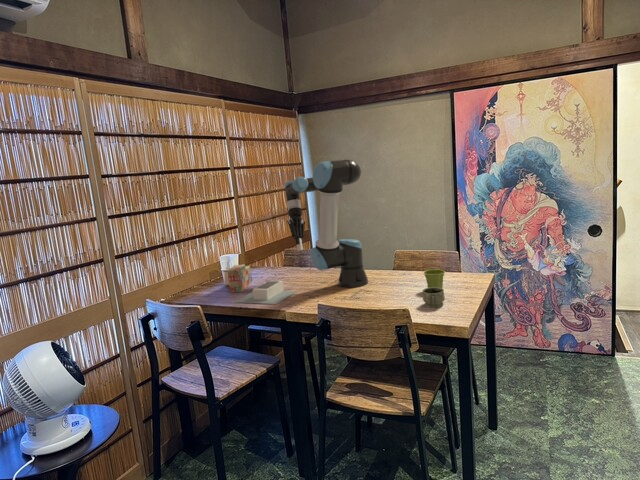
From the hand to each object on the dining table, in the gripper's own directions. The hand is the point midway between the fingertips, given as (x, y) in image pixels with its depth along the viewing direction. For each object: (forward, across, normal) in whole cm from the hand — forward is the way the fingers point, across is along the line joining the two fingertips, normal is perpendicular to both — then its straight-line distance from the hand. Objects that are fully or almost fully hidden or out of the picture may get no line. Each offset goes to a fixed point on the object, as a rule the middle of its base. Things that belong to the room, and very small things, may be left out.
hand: (300, 250), depth 234 cm
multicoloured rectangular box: (+15, +15, -33) cm, 39 cm away
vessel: (+40, +7, +74) cm, 84 cm away
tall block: (+18, +15, -6) cm, 24 cm away
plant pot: (+33, -11, +67) cm, 76 cm away
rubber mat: (+24, +25, -5) cm, 35 cm away
